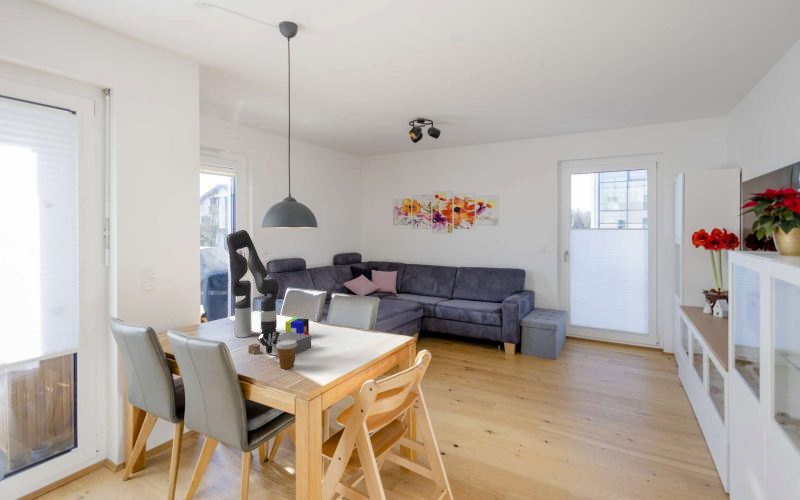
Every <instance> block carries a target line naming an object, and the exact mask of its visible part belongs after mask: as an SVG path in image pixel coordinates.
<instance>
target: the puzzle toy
mask: <svg viewBox="0 0 800 500" xmlns="http://www.w3.org/2000/svg"><path fill="white" fill-rule="evenodd" d="M309 321H310V318H302V317H301V318H298V317H292V318H291V319H288V320H287V321H285V333H287V332H293V333H299V334H305V335H310V326H309V325H310V322H309Z"/></svg>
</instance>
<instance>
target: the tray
mask: <svg viewBox="0 0 800 500" xmlns="http://www.w3.org/2000/svg"><path fill="white" fill-rule="evenodd" d="M276 345H277V344H273V345H272V353H270V354H269V355H272V356H273V355H274V356H278V349H277V346H276ZM262 353H264V354H268V353H267V352H266V346H263V345H262ZM278 357H279V356H278Z"/></svg>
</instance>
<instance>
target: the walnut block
mask: <svg viewBox="0 0 800 500" xmlns="http://www.w3.org/2000/svg"><path fill="white" fill-rule="evenodd" d="M247 347H248V354H251V355H256V354H258V353H261V344H260V343H252V344H249V345H248V346H247Z"/></svg>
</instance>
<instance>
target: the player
mask: <svg viewBox="0 0 800 500" xmlns="http://www.w3.org/2000/svg"><path fill="white" fill-rule="evenodd" d="M286 339H292V340H296V343H297V346H296V353H295V356H296V355H299V354H301V353H304V352H306V351H308V350H311V349H312V335H310V334H309V335H305V334H299V333H293V332H287V333H286V332H284V333H282V334H281V333H280V334H279V337H278V339H277V341H276V343H275V344H277V342H278V341H281V340H286Z"/></svg>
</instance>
